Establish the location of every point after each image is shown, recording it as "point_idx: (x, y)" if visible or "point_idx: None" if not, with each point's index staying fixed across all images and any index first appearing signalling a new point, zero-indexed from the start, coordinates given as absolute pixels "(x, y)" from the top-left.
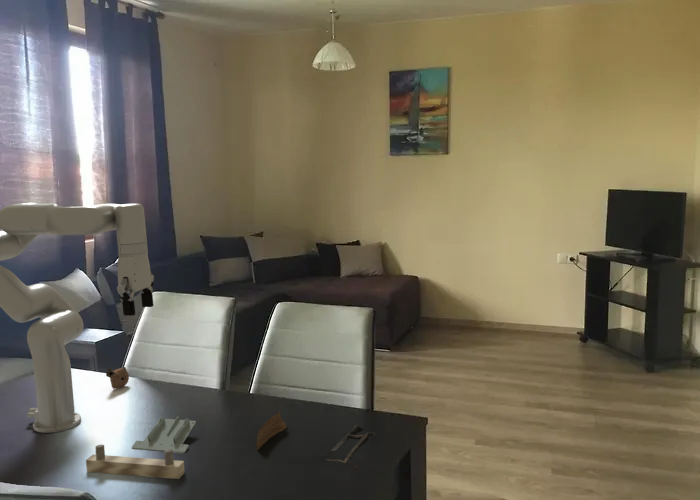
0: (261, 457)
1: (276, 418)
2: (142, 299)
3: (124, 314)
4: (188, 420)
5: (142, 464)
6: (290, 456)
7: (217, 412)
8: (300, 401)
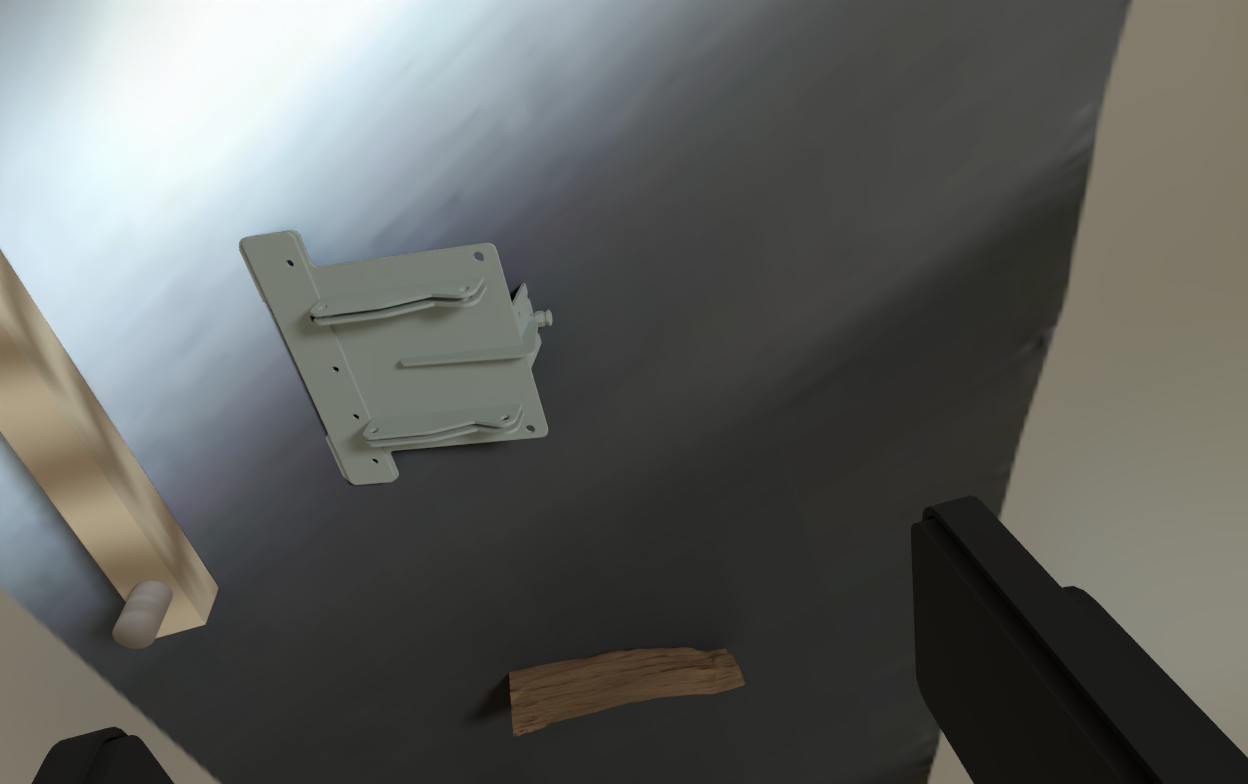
0: (469, 707)
1: (699, 676)
2: (1014, 669)
3: (65, 764)
4: (514, 425)
5: (63, 515)
6: (519, 762)
7: (788, 337)
8: None
